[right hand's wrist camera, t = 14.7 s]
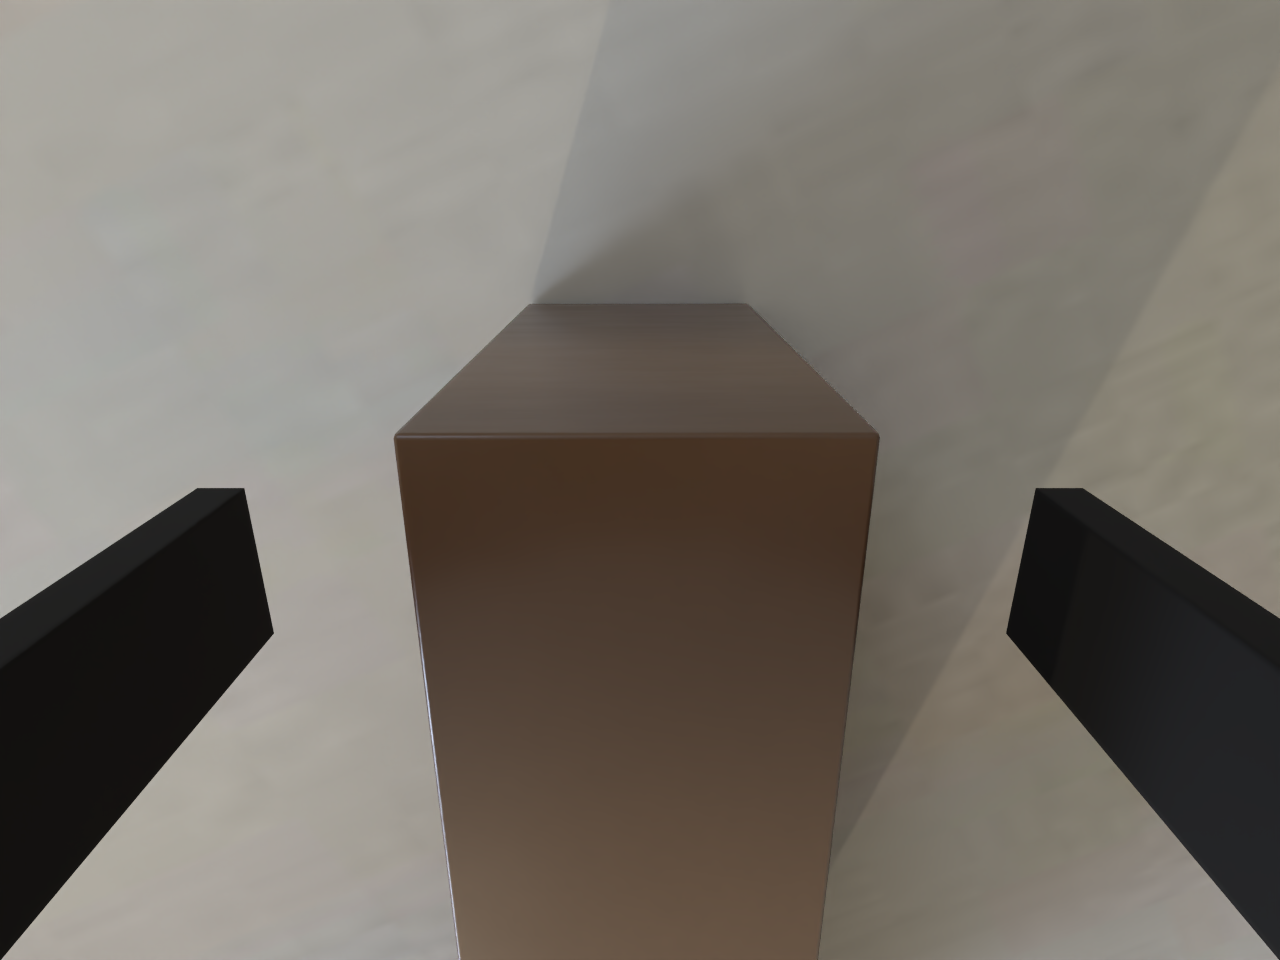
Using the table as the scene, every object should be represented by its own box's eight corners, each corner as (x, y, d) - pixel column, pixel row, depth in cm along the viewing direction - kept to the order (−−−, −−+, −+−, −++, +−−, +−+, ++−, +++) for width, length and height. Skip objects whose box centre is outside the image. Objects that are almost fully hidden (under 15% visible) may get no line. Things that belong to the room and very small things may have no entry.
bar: (528, 303, 15) (390, 435, 7) (748, 303, 15) (882, 433, 7) (570, 1090, 24) (533, 1566, 16) (709, 1090, 24) (747, 1566, 16)
